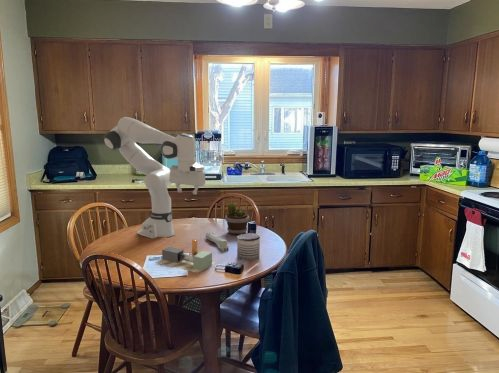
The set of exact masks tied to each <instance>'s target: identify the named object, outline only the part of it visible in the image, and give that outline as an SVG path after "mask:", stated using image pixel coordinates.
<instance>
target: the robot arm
mask: <svg viewBox="0 0 499 373" xmlns="http://www.w3.org/2000/svg"><path fill="white" fill-rule="evenodd" d="M194 138H195V137H194V136H193V135H191V134H189V133H178V135H177V136H173V135H171V134H168V133H166V132H164V131H162V130H161V131H160V130H158V129H157V128H154V127H152V126H151V125H148V124H146V123H144V122H143V121H140V120H138V119H136V118H133V117H129V116H122V117H121V118H120V119H119V120H118V122H117V125H115V126H114V127H113V128H112V129H111V130H110V131H106V133H105V134H104V136H103V141H104V144H105V146H106V147H108V148H109V149H110V150H112V151H116V150H118V151H119V153H120V154H121V156H122V157H123V158H124V159H125V161H127V162H128V163H129V164H130V165H131V166H132V167H133V168H134V169H135V170H136V171H138V172H139V173H140V174H142V175H145V179H144V185H145V187H146V188H147V189H148V192H149V194H150V199H151V211H150V212H148V215H149V217H148V218H147V219H146V220H145V221H143V222H142V224H141V229H140V230H138V231H137V232H136V233H137V235H140V236H143V237H145V238H149V239H152V240H154V239H156V238H159V237H160V238H161V237H162V238H170V237H172V236H174V235H175V234H176V233H175V229H174V226H173V211H172V198H171V196H170V195H169V192H168V187H169V186H170V185H172V184H175V188H176V189H177V193H183V191H182V190H183V188H181V185H183V186H191V187H192V186H193V188H194V190H192V194H193V195H198V190H199V188H200V187H204V186H205V184H206V174H205V172H204V170H205V167H204V165H201V164H200V163H198V162H196V157H195V155H196V143H195V142H196V141H195V139H194ZM137 143H139V144H143V145H144V144H160V145H161V147H160V151H161V154H162V156H163V158H165V159H167V160H174V159H177V165H175V164H173V165H171V166H170V168H169V167H167V166H165V165H164V164H162V163H160V162H159V161H158V160H156V159H154V158H153V157H152V156H151V155H149V153H147V152H146V151H145V150H144V149H143V148H142V147H141V146H140V145H138V144H137Z"/></svg>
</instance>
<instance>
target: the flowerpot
mask: <svg viewBox="0 0 499 373" xmlns="http://www.w3.org/2000/svg"><path fill="white" fill-rule="evenodd" d="M226 209H227V210H226V211H227V214H226V215H225V217H224V218H225V222H226V225H227V232H228V233H229V234H230V235H234V236H239V235H241V234H246V232H247V231H248V227H247V226H248V222H249V220H250V216H249V214H248V213H247V212H246V211H244V210H243V208H242V207H240V208H237V206H236V203H235V202H234V201H231V202H229V203H228V205H227V206H226Z"/></svg>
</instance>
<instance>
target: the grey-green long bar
mask: <svg viewBox="0 0 499 373" xmlns="http://www.w3.org/2000/svg"><path fill="white" fill-rule="evenodd" d="M205 239H207V240H208V241H209V242H213V243H215V244H217V245H218V248H219V250H220V251H222V252H223V251H224V252H226V251H229V248H230V245H229V244H228V240H227V239H222V238H221V237H219V236H217V235H216V234H214V233H213V232H207V233H206V234H205Z"/></svg>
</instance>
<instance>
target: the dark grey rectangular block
mask: <svg viewBox="0 0 499 373" xmlns="http://www.w3.org/2000/svg"><path fill="white" fill-rule="evenodd" d="M161 253H162V254H161V256H162V259H163V260H167V261H171V262H175V263H178V262H180V261H182V260H180V259H178V254H179V253H182V254H185V252H184V249H182V248H176V247H173V246H167V247H164V248H162V250H161Z"/></svg>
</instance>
